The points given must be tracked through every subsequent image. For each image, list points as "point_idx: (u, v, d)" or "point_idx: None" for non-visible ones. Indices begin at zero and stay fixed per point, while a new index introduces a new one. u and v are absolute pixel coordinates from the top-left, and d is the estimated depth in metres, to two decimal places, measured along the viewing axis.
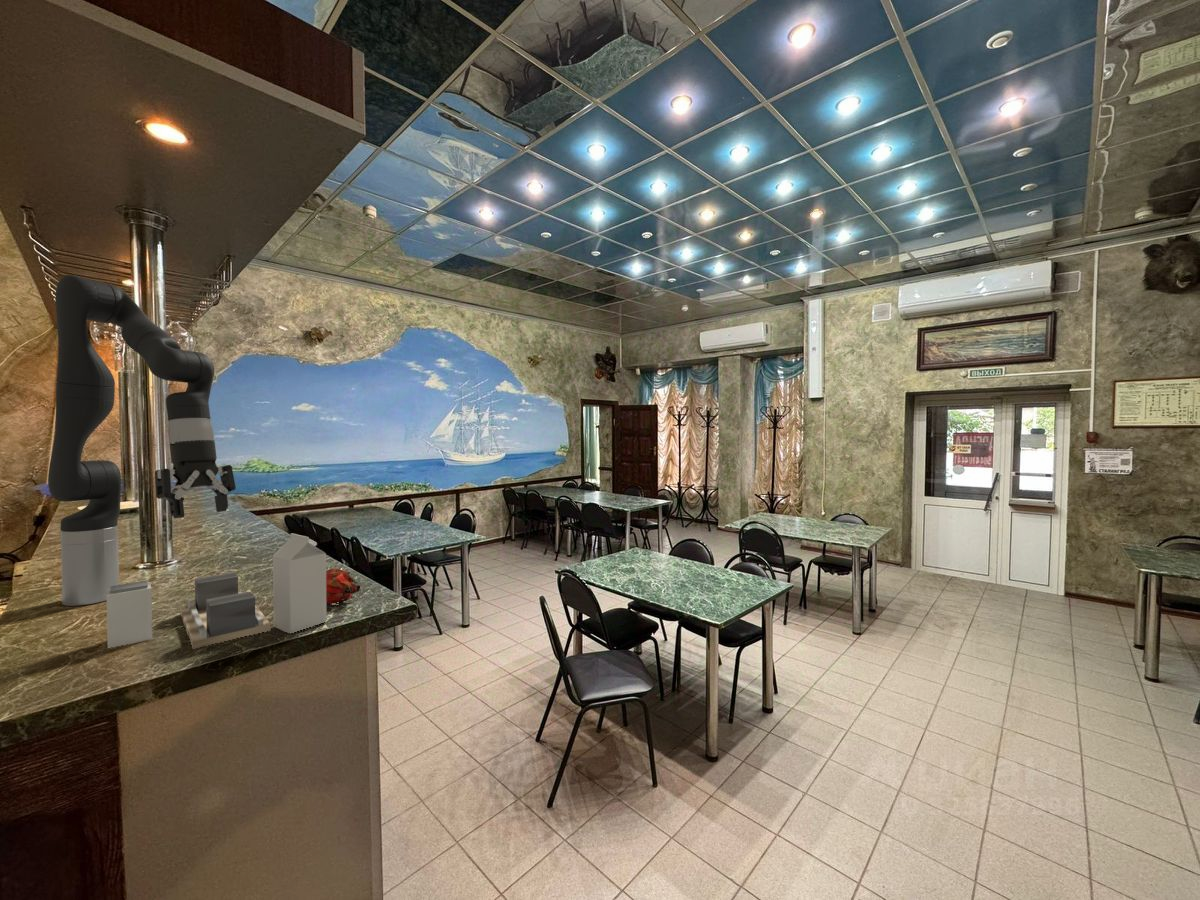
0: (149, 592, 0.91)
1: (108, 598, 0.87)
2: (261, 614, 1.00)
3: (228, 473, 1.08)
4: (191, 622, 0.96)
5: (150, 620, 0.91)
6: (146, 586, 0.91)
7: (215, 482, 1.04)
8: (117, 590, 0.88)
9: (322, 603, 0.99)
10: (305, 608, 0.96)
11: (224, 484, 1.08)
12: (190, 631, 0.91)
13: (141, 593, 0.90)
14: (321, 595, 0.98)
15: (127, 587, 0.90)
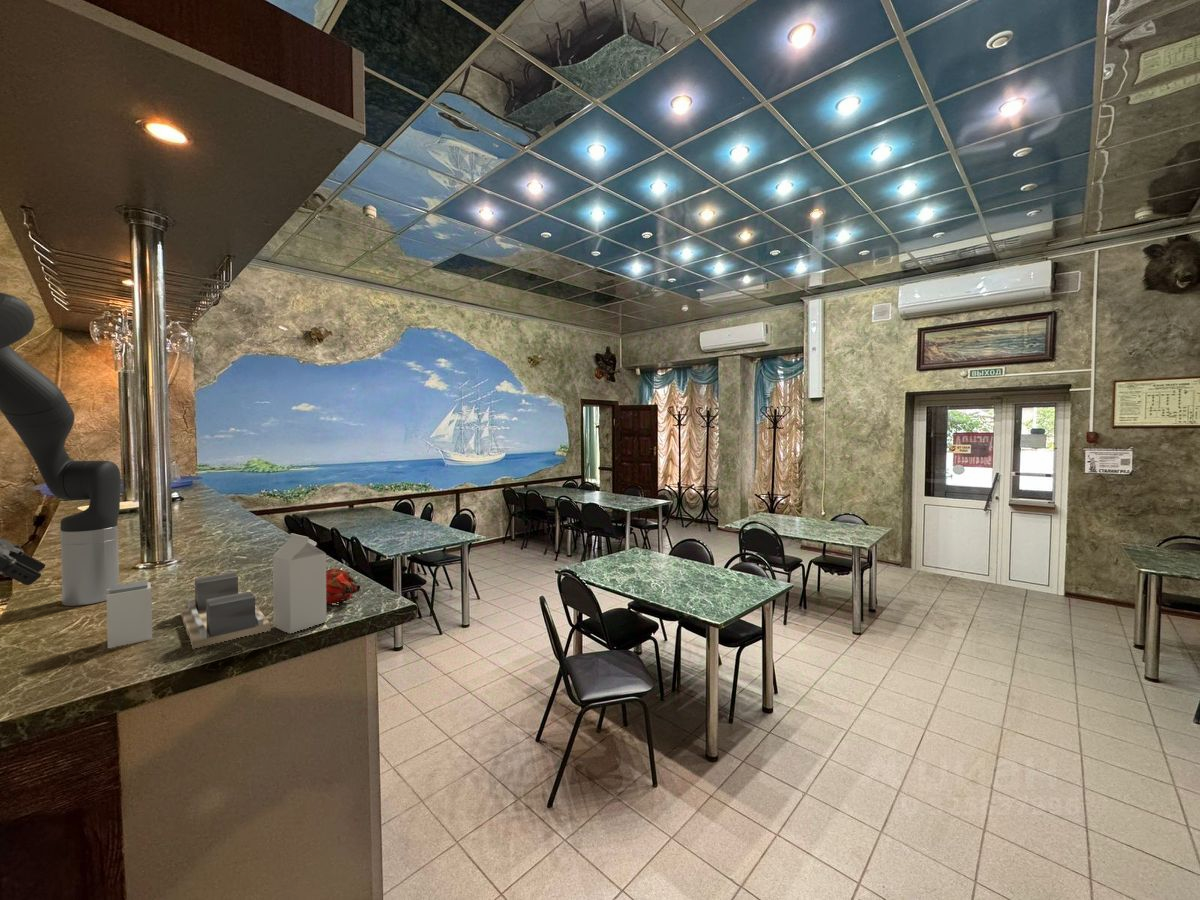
0: (149, 592, 0.91)
1: (108, 598, 0.87)
2: (261, 614, 1.00)
3: None
4: (191, 622, 0.96)
5: (150, 620, 0.91)
6: (146, 586, 0.91)
7: None
8: (117, 590, 0.88)
9: (322, 603, 0.99)
10: (305, 608, 0.96)
11: None
12: (190, 631, 0.91)
13: (141, 593, 0.90)
14: (321, 595, 0.98)
15: (127, 587, 0.90)
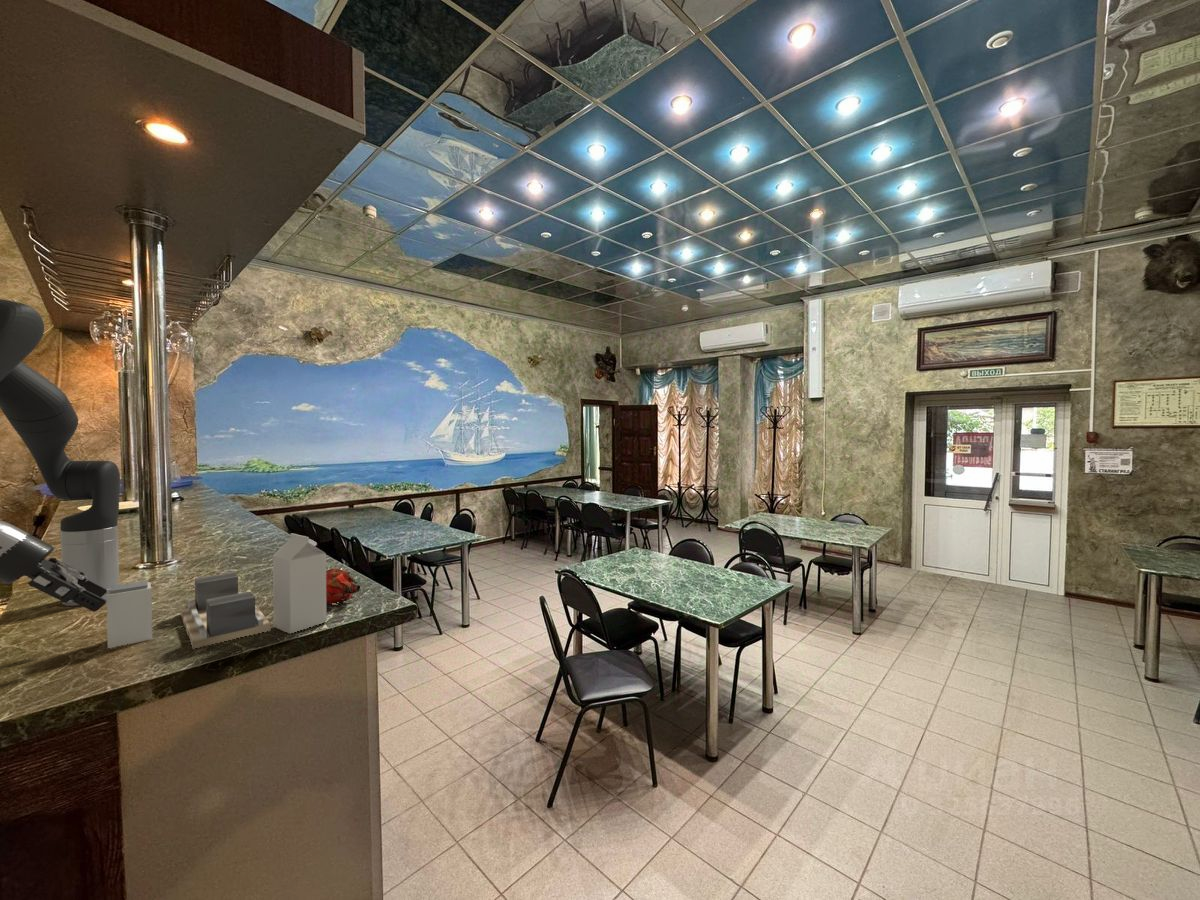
0: (149, 592, 0.91)
1: (108, 598, 0.87)
2: (261, 614, 1.00)
3: None
4: (191, 622, 0.96)
5: (150, 620, 0.91)
6: (146, 586, 0.91)
7: None
8: (117, 590, 0.88)
9: (322, 603, 0.99)
10: (305, 608, 0.96)
11: None
12: (190, 631, 0.91)
13: (141, 593, 0.90)
14: (321, 595, 0.99)
15: (127, 587, 0.90)
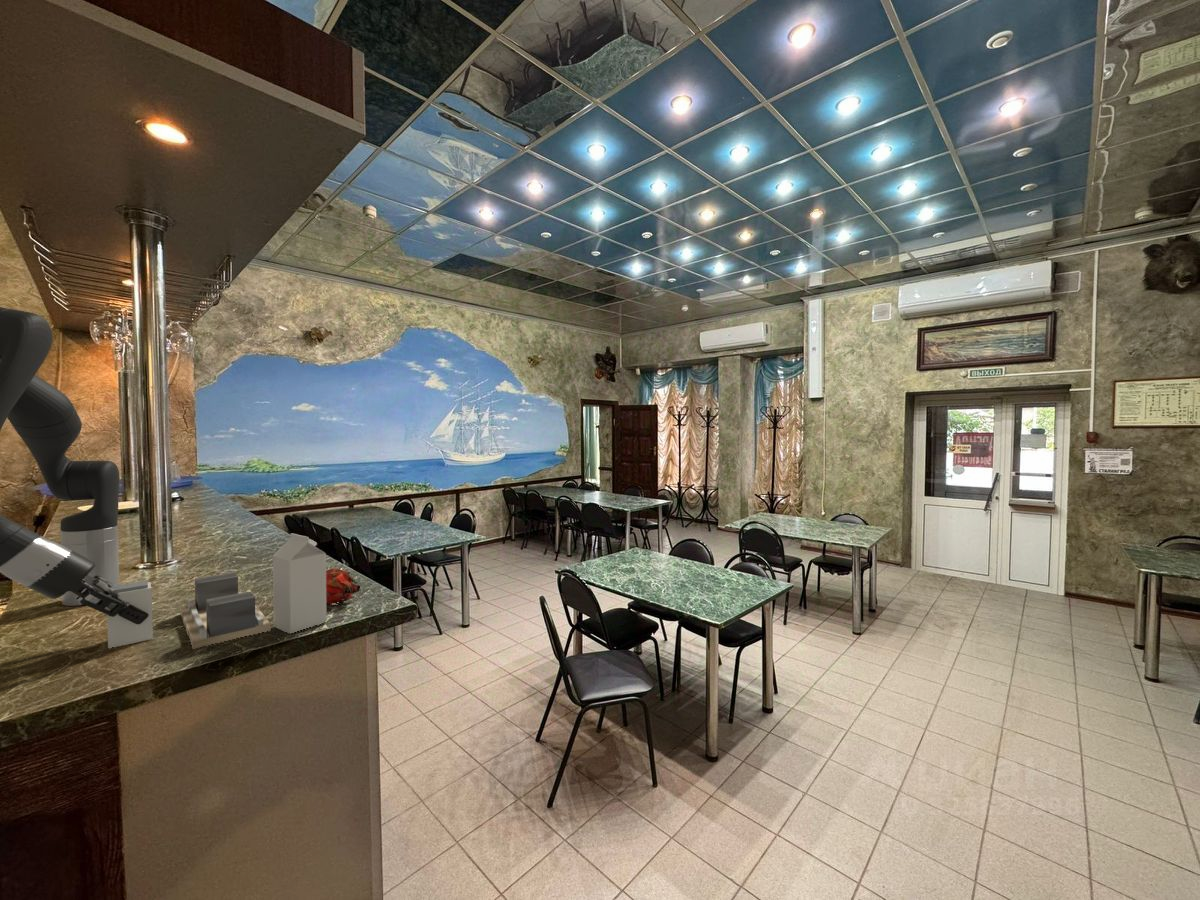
0: (149, 592, 0.91)
1: None
2: (261, 614, 1.00)
3: None
4: (191, 622, 0.96)
5: (150, 620, 0.91)
6: (146, 586, 0.91)
7: None
8: (117, 590, 0.88)
9: (322, 603, 0.99)
10: (305, 608, 0.96)
11: None
12: (190, 631, 0.91)
13: (142, 593, 0.90)
14: (321, 595, 0.98)
15: (127, 587, 0.90)
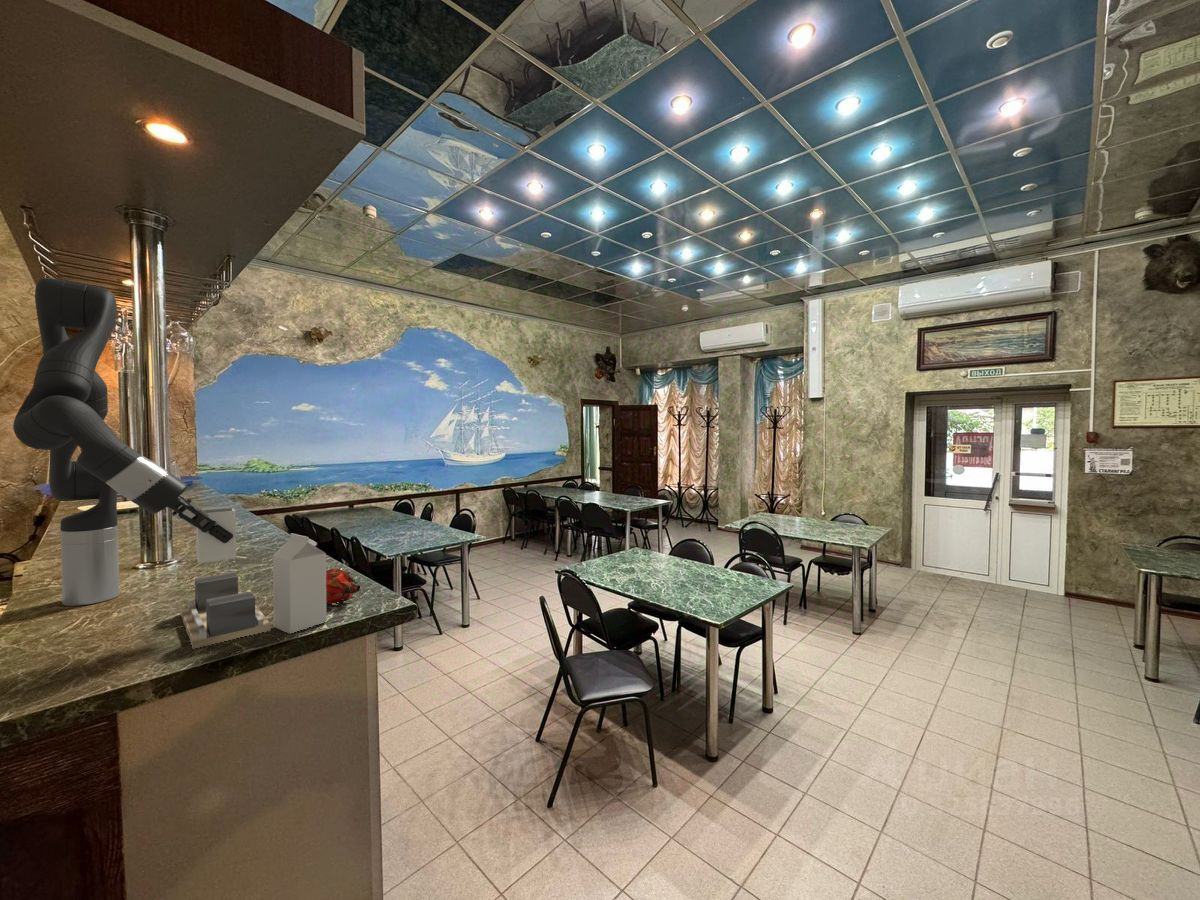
0: (234, 514, 0.98)
1: None
2: (261, 614, 1.00)
3: None
4: (191, 622, 0.96)
5: (234, 540, 0.98)
6: (231, 509, 0.98)
7: None
8: (206, 510, 0.95)
9: (322, 603, 0.99)
10: (305, 608, 0.96)
11: (206, 519, 0.93)
12: (190, 631, 0.91)
13: (227, 515, 0.97)
14: (321, 595, 0.99)
15: (214, 508, 0.97)
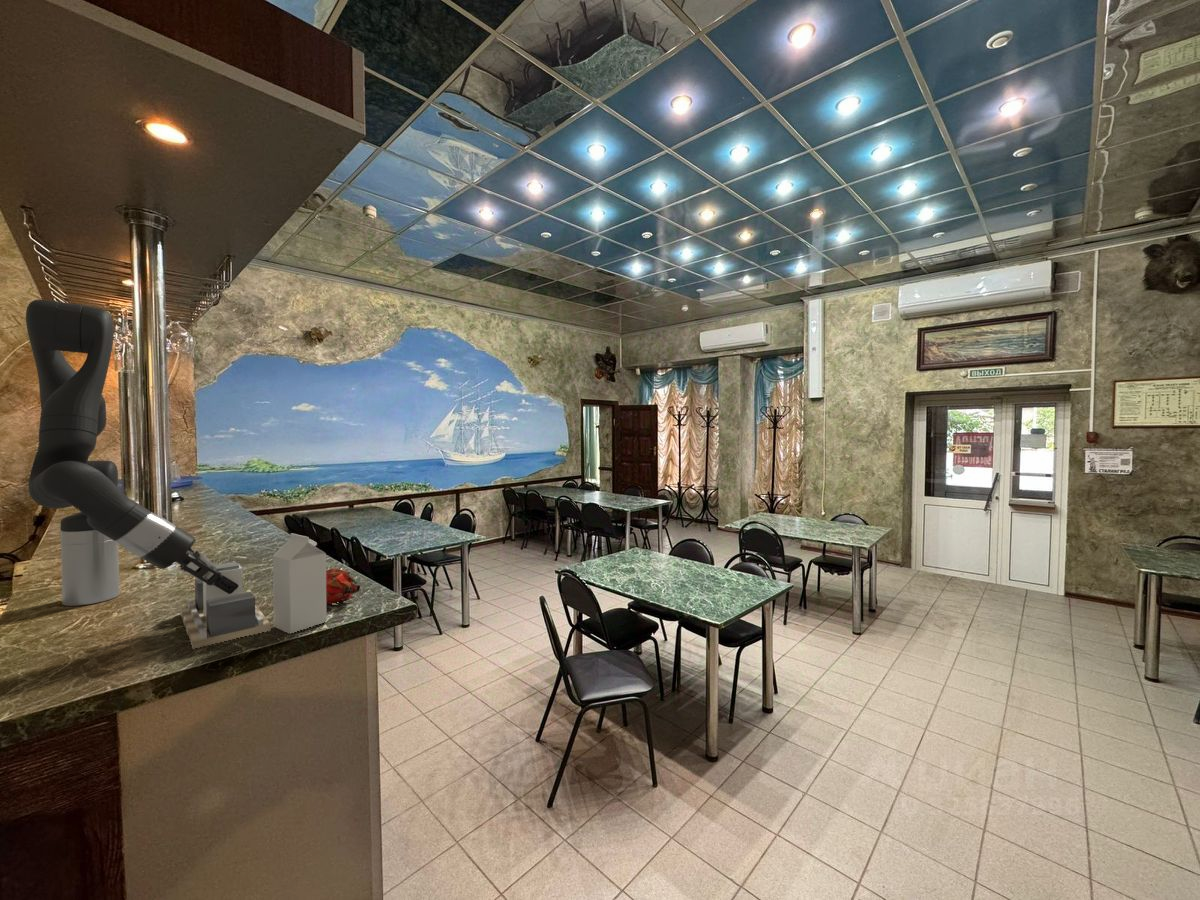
0: (240, 572, 0.99)
1: (207, 576, 0.96)
2: (261, 614, 1.00)
3: None
4: (191, 622, 0.96)
5: None
6: (238, 566, 1.00)
7: None
8: None
9: (322, 603, 0.99)
10: (305, 608, 0.96)
11: (212, 572, 0.93)
12: (190, 631, 0.91)
13: (234, 573, 0.99)
14: (321, 595, 0.99)
15: (222, 567, 0.98)
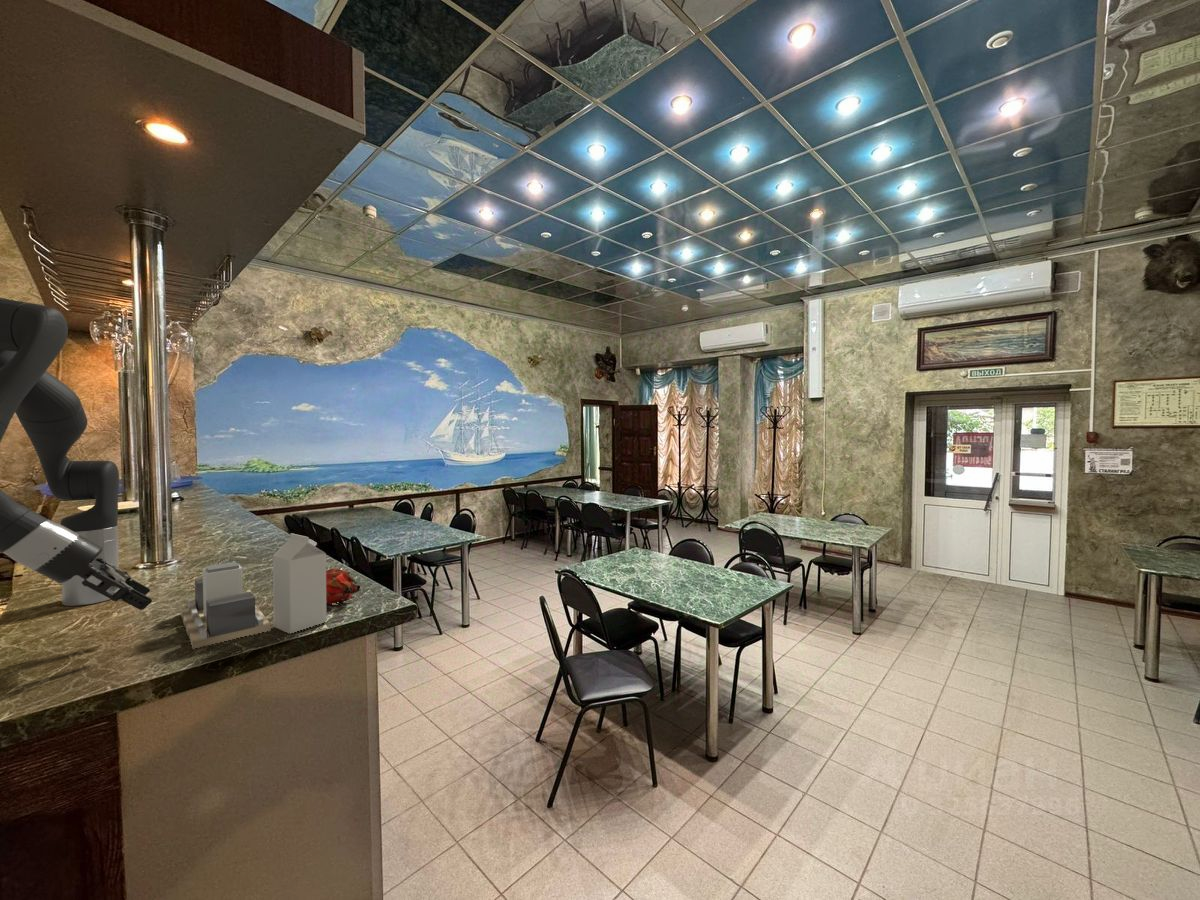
0: (240, 572, 0.99)
1: (207, 576, 0.96)
2: (261, 614, 1.00)
3: None
4: (191, 622, 0.96)
5: None
6: (238, 566, 1.00)
7: None
8: (214, 569, 0.97)
9: (322, 603, 0.99)
10: (305, 608, 0.96)
11: (118, 586, 0.84)
12: (190, 631, 0.91)
13: (234, 573, 0.99)
14: (321, 595, 0.98)
15: (222, 567, 0.98)
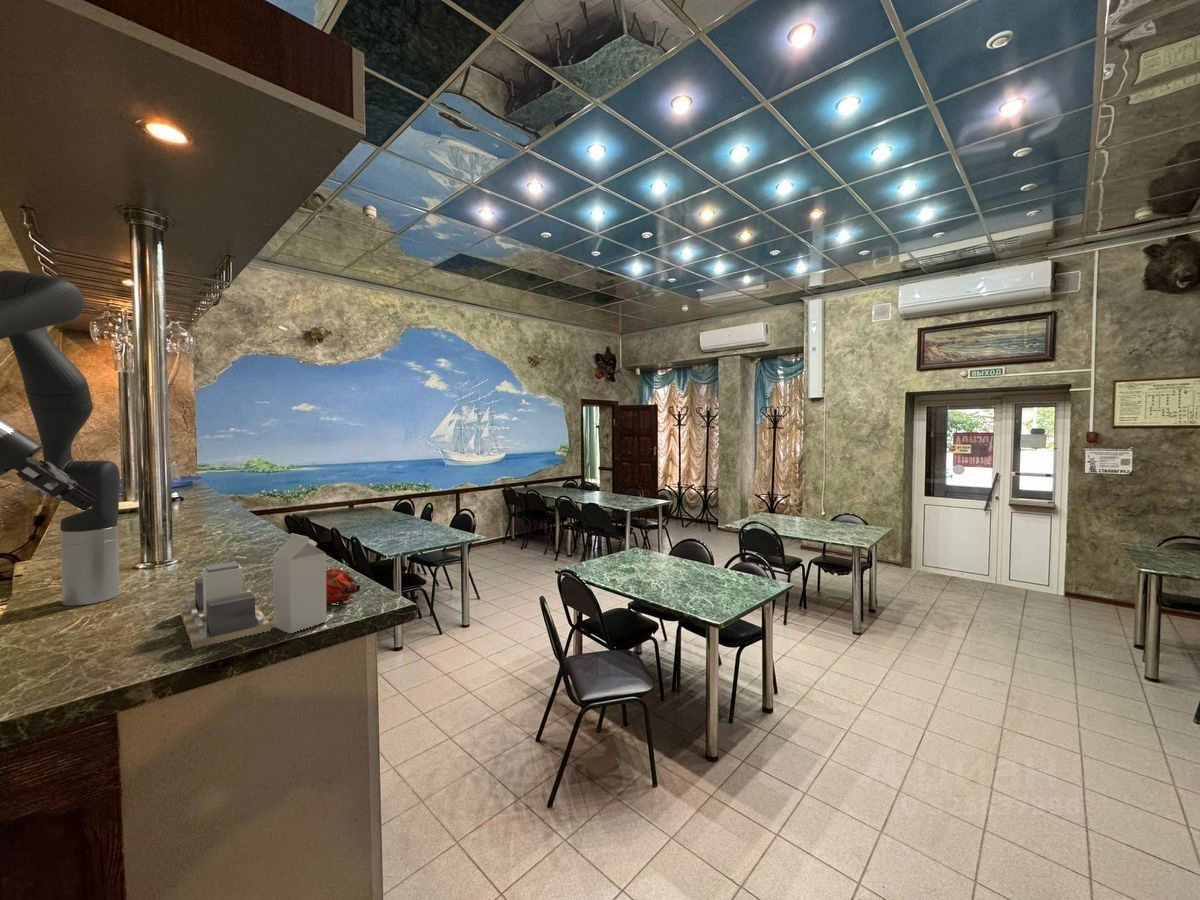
0: (240, 572, 0.99)
1: (207, 576, 0.96)
2: (261, 614, 1.00)
3: None
4: (191, 622, 0.96)
5: None
6: (238, 566, 1.00)
7: None
8: (214, 569, 0.97)
9: (322, 603, 0.99)
10: (305, 608, 0.96)
11: (57, 482, 0.80)
12: (190, 631, 0.91)
13: (234, 573, 0.99)
14: (321, 595, 0.98)
15: (222, 567, 0.98)
